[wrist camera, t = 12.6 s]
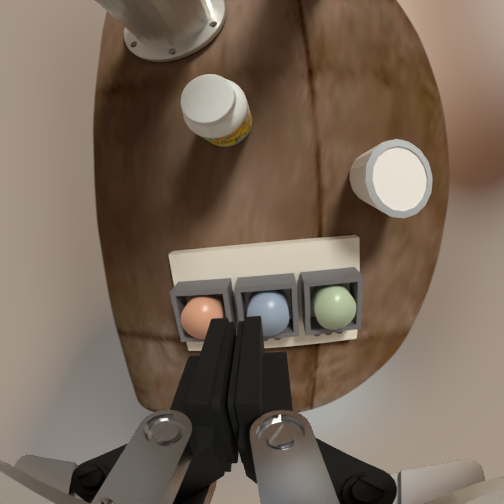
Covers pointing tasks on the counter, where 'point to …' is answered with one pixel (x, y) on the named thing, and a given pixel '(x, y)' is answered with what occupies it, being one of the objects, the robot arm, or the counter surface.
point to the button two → (270, 310)
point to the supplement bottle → (216, 110)
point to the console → (271, 283)
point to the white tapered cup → (393, 178)
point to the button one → (201, 314)
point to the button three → (333, 306)
